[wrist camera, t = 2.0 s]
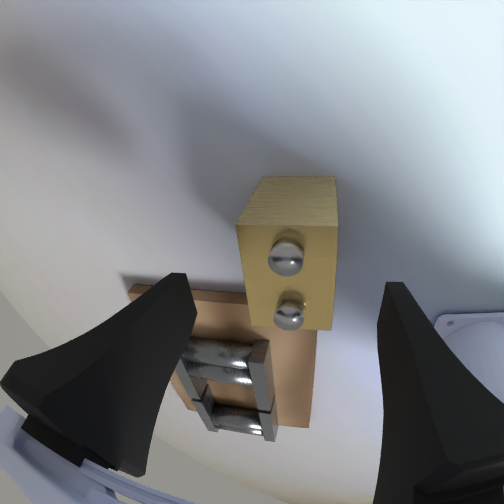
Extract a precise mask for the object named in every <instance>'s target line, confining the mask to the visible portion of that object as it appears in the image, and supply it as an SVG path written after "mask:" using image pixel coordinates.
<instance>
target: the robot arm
mask: <svg viewBox="0 0 504 504" xmlns="http://www.w3.org/2000/svg"><path fill="white" fill-rule="evenodd" d="M197 314H198V312H197V309H196V306H195V302H194V299H193V296H192V293H191V289H190V286H189V282H188V279H187V276H186V273H170V274H169V275H167V276H166V277H165V278H163V279H162V280H160V281H159V282H158V283H156V284H155V285H154V286H152V287H151V288H150V289H149V290H147V291H146V292H145V293H143V294H142V295H141V296H139V297H138V298H137V299H135V300H134V301H133V302H132V303H130V304H129V305H127V306H126V307H125V308H123V309H122V310H120V311H119V312H118V313H116V314H115V315H113V316H112V317H111V318H109V319H108V320H106V321H105V322H103V323H101V324H100V325H98V326H97V327H95V328H93V329H91V330H90V331H88V332H86V333H85V334H83V335H81V336H79V337H77V338H75V339H73V340H71V341H69V342H67V343H65V344H63V345H60V346H58V347H56V348H53V349H51V350H48V351H46V352H43V353H41V354H37V355H35V356H31V357H27V358H24V359H21V360H17V361H15V362H14V363H13V364H12V366H11V367H10V368H9V370H8V371H7V373H6V374H5V375H4V377H3V379H2V380H1V381H0V385H1V387H2V389H3V390H4V391H5V392H6V393H7V394H8V395H9V396H10V397H11V398H12V399H13V400H14V401H15V402H16V403H17V404H18V405H19V406H20V407H21V408H22V409H23V410H24V411H25V412H26V413H27V414H29V415H28V416H27V418H26V419H25V418H24V417H23V416H21V415H20V414H19V413H17V412H16V411H14V410H13V409H12V408H11V407H10V406H8V405H5V407H4V409H3V411H2V412H1V413H0V466H1V468H2V469H3V470H4V471H5V472H6V473H7V475H8V476H9V477H10V478H11V480H12V481H13V482H14V483H15V484H16V485H17V487H18V488H19V489H20V490H21V491H22V492H23V493H24V494H25V496H26V497H27V498H28V499H29V500H30V501H31V502H32V503H33V504H127V503H124V502H122V501H120V500H118V499H117V498H116V496H115V493H114V491H116V492H118V493H120V494H122V495H124V496H126V497H128V498H131V499H133V500H135V501H138V502H140V503H142V504H198V503H195V502H191V501H188V500H185V499H181V498H178V497H175V496H172V495H169V494H166V493H163V492H160V491H158V490H155V489H152V488H150V487H147V486H144V485H141V484H139V483H137V482H134V481H132V480H129V479H127V478H125V477H123V476H120V475H118V474H116V473H114V472H112V471H109V470H108V468H111V469H113V470H115V471H118V470H120V471H123V472H125V473H127V474H130V475H132V476H135V477H141V476H143V475H145V472H146V465H147V459H148V453H149V448H150V443H151V439H152V434H153V430H154V426H155V423H156V419H157V415H158V412H159V409H160V405H161V402H162V399H163V396H164V393H165V390H166V388H167V385H168V383H169V380H170V378H171V376H172V374H173V372H174V370H175V368H176V366H177V364H178V361H179V359H180V357H181V355H182V353H183V351H184V349H185V347H186V345H187V342H188V340H189V338H190V336H191V333H192V330H193V327H194V324H195V320H196V317H197ZM449 321H450V322H449ZM377 343H378V357H379V365H380V374H381V383H382V394H383V409H384V417H383V436H382V448H381V458H380V465H379V473H378V479H377V485H376V490H375V495H374V500H373V504H504V312H499V313H476V314H444V315H441V316H439V317H438V318H437V320H436V323H435V325H434V327H433V325H432V324H431V322H430V321H429V320H428V318H427V317H426V315H425V314H424V312H423V311H422V309H421V308H420V306H419V305H418V304H417V302H416V301H415V299H414V298H413V296H412V295H411V293H410V292H409V290H408V289H407V287H406V286H405V284H404V283H403V282H386V285H385V290H384V295H383V300H382V305H381V309H380V314H379V318H378V322H377Z"/></svg>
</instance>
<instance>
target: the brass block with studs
mask: <svg viewBox="0 0 504 504" xmlns="http://www.w3.org/2000/svg"><path fill="white" fill-rule="evenodd" d="M236 230H237V237H238V243H239V250H240V256H241V262H242V269H243V275H244V281H245V288H246V294H247V300H248V306H249V313H250V319H251V325H254V326H266V327H279V328H281V329H283V330H287V331H293V330H297V329H312V330H331V328H332V317H333V306H334V294H335V281H336V265H337V246H338V212H337V196H336V182H335V177H327V176H280V177H262V179H261V181H260V182H259V184H258V186H257V188H256V189H255V191H254V193H253V195H252V196H251V198H250V200H249V202H248V204H247V205H246V207H245V209H244V211H243V212H242V214H241V216H240V218H239V219H238V221H237V223H236Z"/></svg>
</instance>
